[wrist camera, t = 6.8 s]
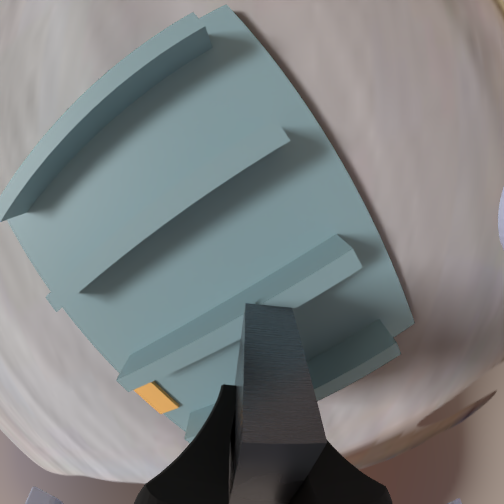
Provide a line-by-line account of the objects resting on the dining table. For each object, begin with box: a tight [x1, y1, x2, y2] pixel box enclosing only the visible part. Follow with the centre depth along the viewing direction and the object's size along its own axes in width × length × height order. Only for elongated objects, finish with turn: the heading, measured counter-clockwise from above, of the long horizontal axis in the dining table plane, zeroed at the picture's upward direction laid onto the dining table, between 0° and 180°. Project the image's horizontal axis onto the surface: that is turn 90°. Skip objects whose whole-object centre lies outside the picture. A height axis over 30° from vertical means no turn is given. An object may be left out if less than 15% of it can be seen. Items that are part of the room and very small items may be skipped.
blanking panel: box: [229, 303, 327, 504], centre depth 10 cm, size 2×8×7 cm, turn 173°
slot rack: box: [0, 5, 415, 443], centre depth 13 cm, size 21×18×3 cm
